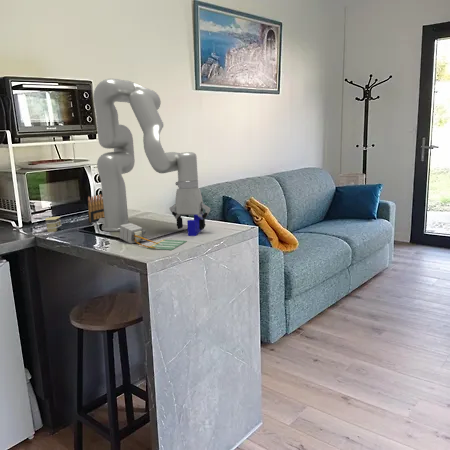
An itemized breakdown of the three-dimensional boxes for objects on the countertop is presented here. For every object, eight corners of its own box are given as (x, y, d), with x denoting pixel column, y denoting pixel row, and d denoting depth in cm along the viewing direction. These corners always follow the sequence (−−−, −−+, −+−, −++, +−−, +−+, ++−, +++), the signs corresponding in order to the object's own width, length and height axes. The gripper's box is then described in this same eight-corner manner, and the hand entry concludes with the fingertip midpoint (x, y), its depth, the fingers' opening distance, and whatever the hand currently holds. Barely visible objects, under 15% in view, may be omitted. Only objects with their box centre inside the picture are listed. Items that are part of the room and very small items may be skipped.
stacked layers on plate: (63, 232, 189) (61, 219, 188) (40, 234, 187) (38, 221, 186) (66, 227, 199) (65, 215, 197) (45, 229, 197) (43, 216, 196)
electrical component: (172, 254, 158) (173, 241, 157) (159, 258, 154) (159, 244, 152) (130, 234, 173) (130, 221, 171) (116, 237, 169) (116, 224, 167)
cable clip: (191, 229, 185) (191, 214, 184) (202, 229, 184) (201, 214, 183) (184, 236, 174) (183, 220, 172) (195, 236, 173) (194, 220, 171)
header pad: (146, 248, 157) (146, 247, 157) (163, 240, 168) (163, 239, 168) (171, 250, 154) (171, 249, 153) (186, 241, 164) (186, 240, 164)
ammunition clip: (105, 218, 215) (103, 193, 212) (108, 218, 214) (106, 193, 211) (88, 222, 206) (85, 196, 203) (91, 223, 205) (88, 196, 202)
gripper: (163, 186, 175) (166, 230, 178) (205, 186, 168) (207, 231, 172) (172, 183, 182) (175, 225, 185) (212, 183, 175) (215, 227, 179)
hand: (191, 228), depth 179 cm, fingers open, 9 cm apart
